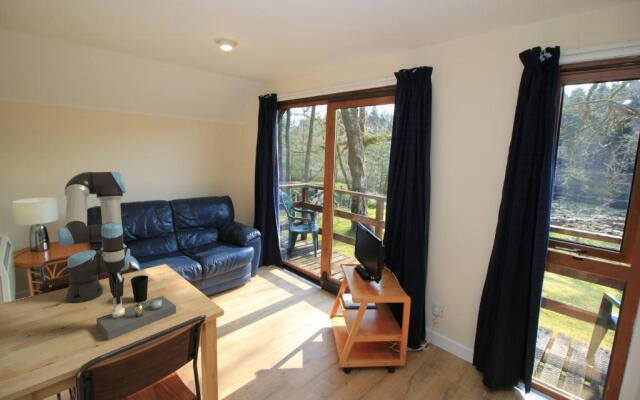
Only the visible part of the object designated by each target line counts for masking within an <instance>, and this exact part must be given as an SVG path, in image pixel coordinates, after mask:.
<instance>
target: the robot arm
mask: <svg viewBox="0 0 640 400" xmlns="http://www.w3.org/2000/svg"><path fill="white" fill-rule="evenodd" d="M125 193H126V186H125V182H124V178H123V174H122V173H121V172H118V171H84V172H81V173H77V175H74V176H73V177H71V178H70V180H69V181H68V182H66V184H65V187H64V196H66V204H65V205H66V209H65V223H64V227H60V228H58V230H57V240H58V243H59V244H58V245H60V246H74V245H80V244H88V243H89V244H91V243H97V242H101V244H102V245H101V246H102V247H101V248H100V252H97V251H96V250H94V249H87V250H82V251H79V252H76V253H73V254H72V255H70V256H69V257H68V258H67V270H68V279H69V280H68V281H69V282H68V283H69V285H68V289H67V293H66V297H65V298H66V301H67V303H73V304H74V303H76V304H77V303H78V304H79V303H85V302H90V301H92V300H94V299H95V300H96V299H97V298H99V297H101V296H102V295H103V294H104V287H103V286H102V284H101V282H100V280H99V276H100V275H106V274H107V278H108V285H109V290H110V294H111V296H112V301H113V309H114V311H118V310H121V309H122V307H123V304H122V302H123V301H122V297H123V296H124V282H125V277H123V272H122V271H127V270H128V269H129V268H130V261H131V259H130V258H131V249H130V248H128V246H127V245H126V244H125V243H124V230H123V229H124V228H123V224H122V223H123V221H122V211H121V210H122V209H121V199H122V198H124V195H123V194H125ZM89 195H96V196H95V197H96V199H98V200H99V201H100V212H101V213H100V214H101V223H102V224H89V225H88V197H89Z"/></svg>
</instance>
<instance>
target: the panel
mask: <svg viewBox="0 0 640 400" xmlns="http://www.w3.org/2000/svg"><path fill="white" fill-rule="evenodd" d="M154 300H162V307H161V308H160V309H157V310H153V309H151V307H150V303H151V302H152V301H154ZM141 304H142V308H143V316H142V317H139V318H137V317H136V314H135V305H136V304H134V305H131V306H130V307H129V306H128V307H126V308H125V315H124V316H122V317H120V318H117V319H115V318H113V317H112V312H111V313H108V314H106V315H103V316H100V317H98V318H96V327H97V329H98V330H99V332H101V333H102V336H105V338H106V340H107V341H110V340H113V339H116V338H119V337H120V336H123V335H125V334H128V333H131V332H133V331H135V330H138V329H140V328H143V327H145V326H147V325H150V324H152V323H155V322H158V321H160V320H162V319H165V318H168V317H169V316H172V315H175V314H177V304H175V303H173V302H172V301H171V300H169V299H168V298H166V297H165V296H164V295H160V296H158V297H155V298H151V299H150V300H146V301H144V302H141Z"/></svg>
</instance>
